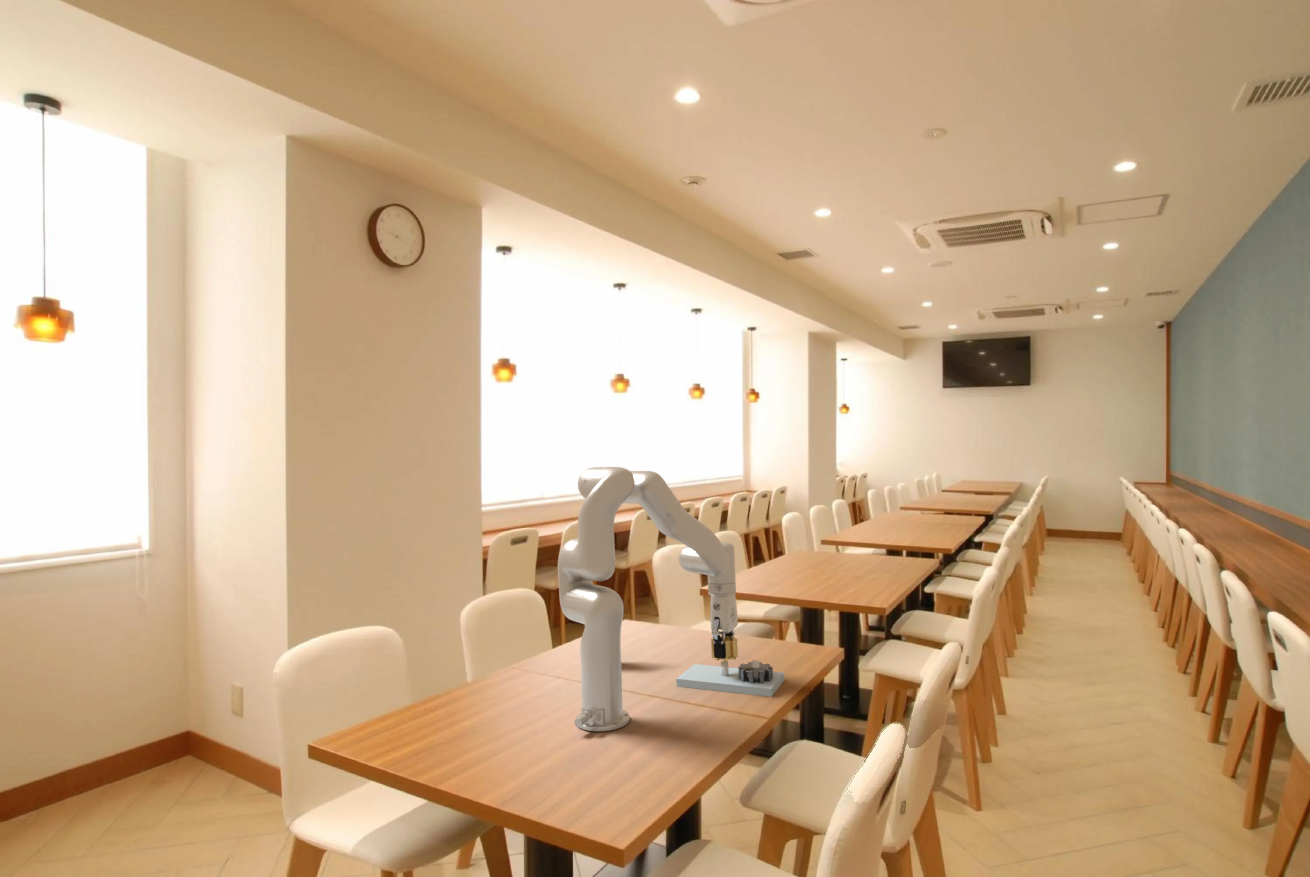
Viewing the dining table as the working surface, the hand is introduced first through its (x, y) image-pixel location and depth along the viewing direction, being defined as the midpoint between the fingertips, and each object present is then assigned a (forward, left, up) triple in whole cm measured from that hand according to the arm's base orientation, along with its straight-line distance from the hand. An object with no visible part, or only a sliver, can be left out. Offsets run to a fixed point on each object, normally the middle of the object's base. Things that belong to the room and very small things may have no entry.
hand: (724, 653), depth 192 cm
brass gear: (0, 0, -1) cm, 1 cm away
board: (0, -1, -8) cm, 8 cm away
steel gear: (0, -8, -6) cm, 10 cm away
